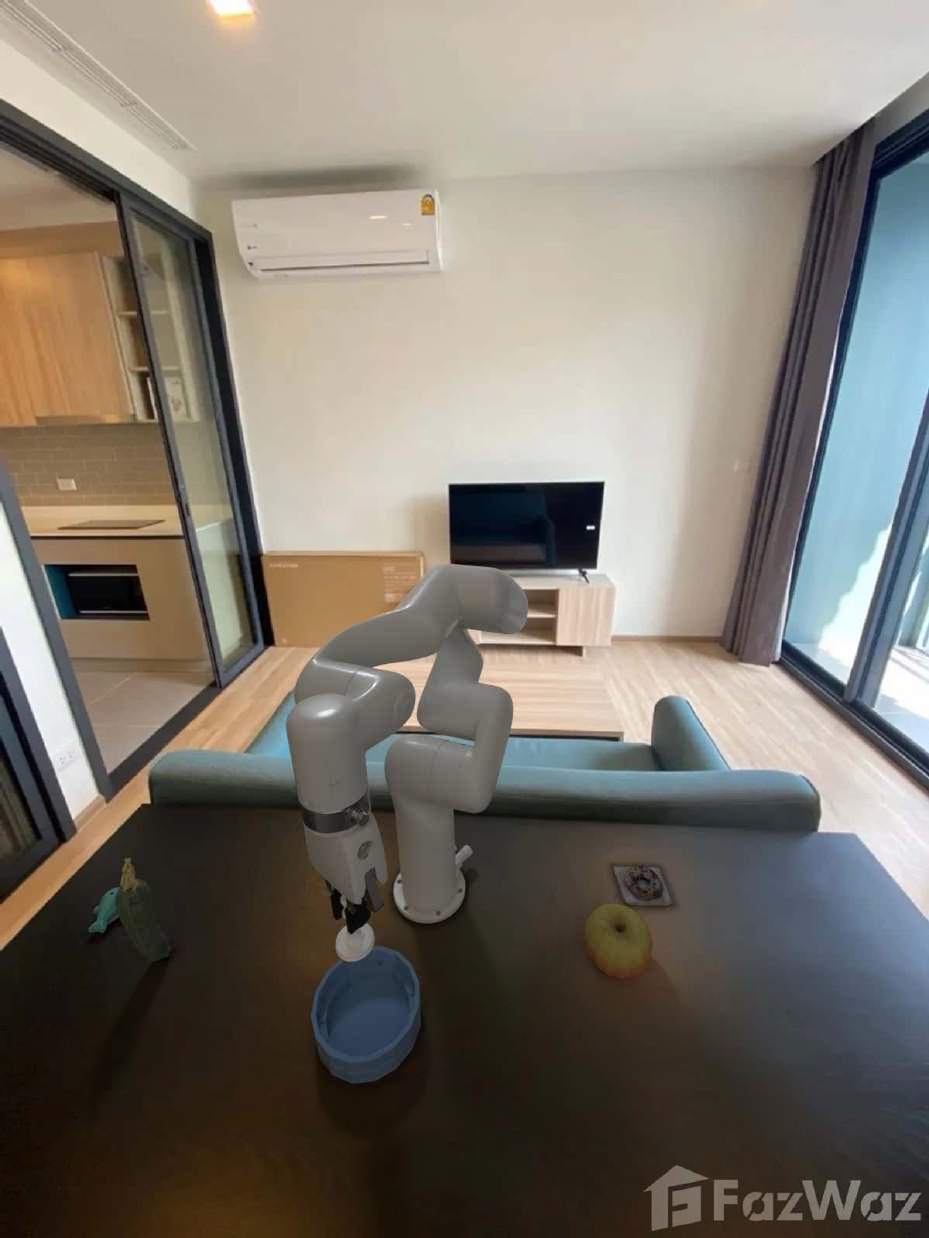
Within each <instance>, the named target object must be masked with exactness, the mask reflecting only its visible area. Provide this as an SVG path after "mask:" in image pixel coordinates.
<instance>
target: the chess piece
mask: <svg viewBox="0 0 929 1238" xmlns="http://www.w3.org/2000/svg"><path fill="white" fill-rule="evenodd" d="M340 901H341V904H342V905H343V906H344V908H343V911H342V916H343V917H342V918H343V919H344V920H346V918H345V911H344V910H345V908H346V907H347V903H346V898H345V897H344V896H343V895H342V896H341V899H340ZM375 941H376V937H375V933H374V930H373V928H372V926H370V924H369V923H368V922H367V923H366V924H365V925H364V926H363V927H361V928H359V929H358V930H356V931H355V932H354V933H353V934H350V933H349V932H348V931H347V924H346V925H345V926H343V927H342V929H340V930H339V932H338V934H337V936H336V939H335V952H336V955H337V956H338V957H339V958H340V959H342V960H345V961H348V962H354V961H358V960H360V959H362V958H364V957H365V956H367V955H368V954H369V952H370V951H371V950H372V948H373V947H375Z"/></svg>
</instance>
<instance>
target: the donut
mask: <svg viewBox="0 0 929 1238" xmlns="http://www.w3.org/2000/svg"><path fill="white" fill-rule="evenodd" d="M612 869H613V872H614V875H615V878H616V881H617V885H618V888H619V891H620V894H621V898H622V900H623V902H625V903H626V904H627V905H628V906H641V907H643V906H647V907H649V906H652V907H660V906H661V907H666V906H669V905H673V901H672V899H671V898H672V897H671V896H670V893H669V891H668V888H667V886H666V883H665V880H664V878H663V875H662V872H661V870H660V868H659V867H658V866H657V867H656V866H654V867H653V866H645V865H644V864H642V863H641V864H639V865H636V866H623V865H622V866H620V865H619V866H617V865H612Z"/></svg>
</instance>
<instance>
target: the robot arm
mask: <svg viewBox="0 0 929 1238" xmlns="http://www.w3.org/2000/svg"><path fill="white" fill-rule="evenodd" d="M528 615H529V601H528V598H527V595H526V592H525V590H524V588H522V586H521V585H520V584H519V583H518V582H517V581H515V579H513V577H511V576H510V575H509V574H508V573H506V572H505V571H503V570H500V569H499V568H495V567H492V566H491V567H490V566H479V565H469V564H468V565H466V564H455V563H444V564H438V565H435V566H433V567H431V568H430V569H428V570H427V571H426V572H425V574H424V575H422V577H421V578H420V580H418V582H417V583H416V584H415V585H414V586H413V588H412V589H411V590H410V591H409V592H408V593H407V594H406V596H405V597H404V598H403V599H402V600H401V601H400V602H399V604H398V605H397V606H396V607H395V608H394V609H391V610H389V611H386V612H383V613H379V614H378V615H375V616H373V617H369V619H368V618H367V619H365V620H363V621H361V622H358V623H355V624H353V625H350V626H349V627H346V628H344V629H342V630H341V631H339V632H338V633H336V634H335V635H333V636H332V637H331V638H329V639H328V640H327V641H326V642H325V643H324V644H323V645H322V646H321V647H320V648H319V649H318V650H317V651H316V652H315V653H314V655H312V657H311V658H310V659H309V660H308V661H307V663H306V664H305V665H304V667H303V668H302V670H301V671H300V674H299V675H298V678H297V679H296V682H295V686H294V689H293V690H294V691H293V698H294V699H293V700H294V704H295V705H294V706H293V707H291V709H290V710H289V712H288V714H287V716H286V719H285V720H286V721H285V730H286V731H285V732H286V738H287V743H288V744H287V745H288V749H289V754H290V760H291V764H292V771H293V776H294V781H295V787H296V794H297V799H298V800H297V801H298V805H299V810H300V811H299V812H300V816H301V821H302V825H303V831H304V839H305V846H306V851H307V855H308V858H309V862H310V864H311V865H312V866H313V868H314V869H315V870H316V871H317V872H318V873H319V874H320V875H321V876H322V877H323V878H324V880H325V887H326V889H327V891H328V892H329V893H330V894H331V895H329V899H330V904H331V910H332V917H333V918H334V919H335V920H336V921H339V920H341V919H342V918H343V916H342V911H343V908H344V906H343V905H342V904H341V901H340V899H341V896H342V895H343V896H344V897H345V898H346V903H347V907H346V908H345V910H344V911H345V918H346V919H345V924H346V925H347V931H348V932H349V933H350V934H353V933H354V932H355V931H356V930H358V929H359V928H361V927H363V926H364V925H365V924H366V923H367V924H368V922H369V920H370V919H371V917H372V913H373V914H376V913H377V912H378V911H380V910H381V909H382V908H383V907H384V906H385V902H384V900H383V897H382V895H381V892H380V889H379V887H378V884H380V885H381V886H384V885H385V884H386V883H388V879H389V872H388V865H387V864H388V863H387V859H386V853H385V848H384V843H383V839H382V836H381V831H380V829H379V825H378V822H377V820H376V817H375V815H374V813H373V812H372V811H371V809H372V804H371V803H372V802H371V794H370V787H369V786H370V784H369V776H368V767H367V759H366V754H367V752H368V751H369V750H371V749H372V748H373V747H375V746H377V745H378V744H380V743H381V742H383V741H385V740H387V739H388V738H390V737H392V736H393V735H394V734H396V733H397V732H398V731H399V730H401V728H403V727H404V726H405V724H406V723H407V722H408V721H409V720H410V718H411V717H412V715H413V713H414V709H415V707H416V706H415V705H416V701H417V694H416V688H415V686H414V684H413V683H412V681H411V680H410V679H409V678H408V677H407V676H405V675H404V674H402V673H398V672H395V671H392V670H386V669H380V668H375V667H379V666H384V665H389V664H397V663H403V662H410V661H414V660H419V659H424V658H428V657H430V656H432V655H435V654H436V655H435V658H434V661H433V664H432V667H431V669H430V671H429V674H428V676H427V679H426V682H425V684H424V687H423V690H422V692H421V694H420V696H419V697H420V698H419V700H418V704H417V707H416V708H417V709H416V720H417V722H418V724H419V725H420V727H421V728H423V729H424V730H426V731H428V732H432V733H435V734H438V735H442V736H446V737H450V738H455V739H460V740H465V741H470V742H474V743H473V744H472V745H471V744H467V743H462V742H457V741H452V740H449V739H445V738H441V737H436V736H431V735H426V734H419V733H409V734H403V735H400V736H399V737H397V738H396V739H395V740H393V741H392V743H391V744H389V747H388V748H387V751H386V753H385V757H384V762H383V763H384V764H383V772H384V779H385V783H386V785H387V789H388V791H389V793H390V797H391V799H392V804H393V808H394V816H395V825H396V827H395V828H396V839H397V851H398V859H399V869H400V870H399V871H400V872H398V875H397V876H396V878H395V880H394V883H393V889H392V890H393V892H392V893H393V900H394V905H395V906H396V908H397V910H398V911H399V913H400V914H402V915H403V916H404V917H405V918H406V919H408V920H410V921H412V922H415V923H419V924H434V923H439V922H442V921H444V920H446V919H448V918H449V917H451V916H452V915H453V914H454V913H456V912H457V911H458V910H459V908H460V907H461V905H462V904H463V901H464V899H465V895H466V880H465V877H464V875H463V872H462V871H461V868H462V867H463V863H464V862H465V861H467V859H468V858H469V857H471V856H472V855H473V853H474V852H473V848H472V847H471V846H469V845H468V844H465V845H464V846H463V847H461V849H460V850H458V847H457V845H456V835H455V833H456V832H455V813H454V810H456V811H461V812H465V813H471V814H478V813H481V812H483V811H485V810H486V809H487V808H488V807H489V806H490V804H491V802H492V799H493V797H494V794H495V792H496V791H495V790H496V787H497V785H498V780H499V776H500V773H501V768H502V764H503V761H504V758H505V754H506V749H507V746H508V742H509V738H510V735H511V730H512V725H513V721H514V702H513V698H512V696H511V694H510V693H509V692H508V690H506V689H505V688H503V687H501V686H498V685H494V684H490V683H489V684H488V683H483V682H479V681H480V678H481V675H482V672H483V668H484V657H483V655H482V653H481V650H480V649H479V647H478V645H477V643H476V641H475V640H474V638H472V636H471V634H470V632H469V630H473V631H479V632H487V633H494V634H501V635H502V634H503V635H514V634H518V633H519V632H520V631H521V630H522V629H523V628H524V626H525V624H526V622H527V620H528ZM457 850H458V852H457V853H456V851H457ZM377 882H378V884H377Z"/></svg>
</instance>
